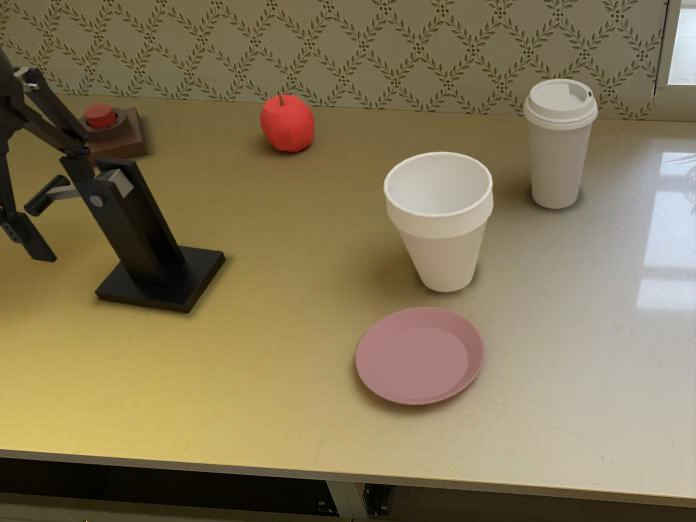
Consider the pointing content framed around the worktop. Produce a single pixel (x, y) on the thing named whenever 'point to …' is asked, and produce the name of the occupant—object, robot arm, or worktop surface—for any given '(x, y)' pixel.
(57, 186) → the lever
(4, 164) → the robot arm
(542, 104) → the coffee cup
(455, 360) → the plate
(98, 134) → the button block
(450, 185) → the cup
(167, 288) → the bracket
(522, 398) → the worktop surface
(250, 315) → the worktop surface
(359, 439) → the worktop surface
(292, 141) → the apple
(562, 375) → the worktop surface
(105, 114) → the button
